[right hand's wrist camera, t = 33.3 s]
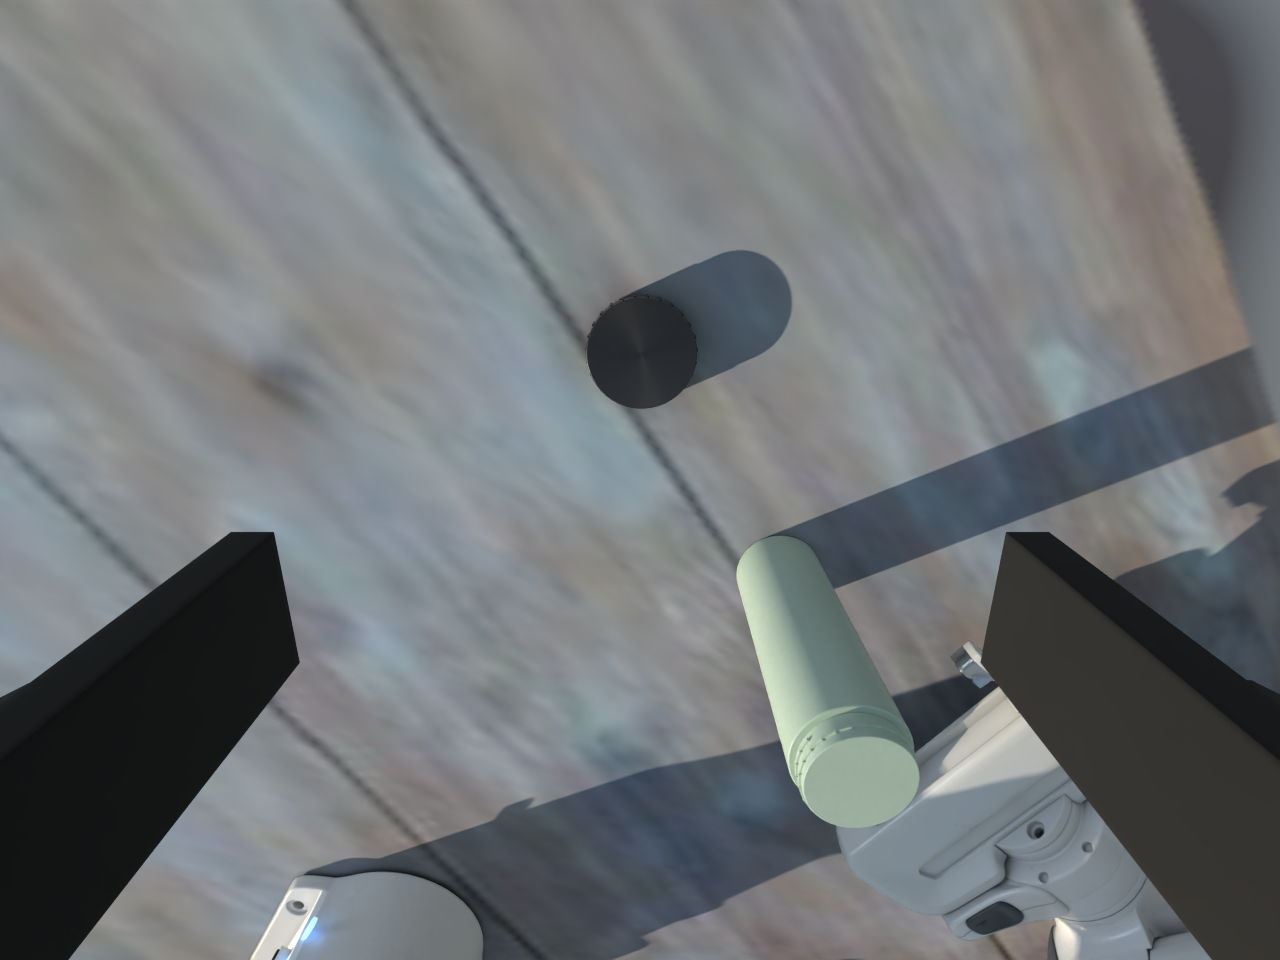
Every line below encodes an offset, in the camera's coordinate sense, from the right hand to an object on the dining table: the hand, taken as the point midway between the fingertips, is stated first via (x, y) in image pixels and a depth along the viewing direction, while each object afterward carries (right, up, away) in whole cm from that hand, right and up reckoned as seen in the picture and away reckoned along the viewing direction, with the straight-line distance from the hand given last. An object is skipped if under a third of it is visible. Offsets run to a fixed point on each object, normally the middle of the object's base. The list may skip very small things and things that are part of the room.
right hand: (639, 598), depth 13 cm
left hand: (+15, -11, +28) cm, 34 cm away
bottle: (+9, -4, +33) cm, 34 cm away
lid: (0, +9, +26) cm, 28 cm away
